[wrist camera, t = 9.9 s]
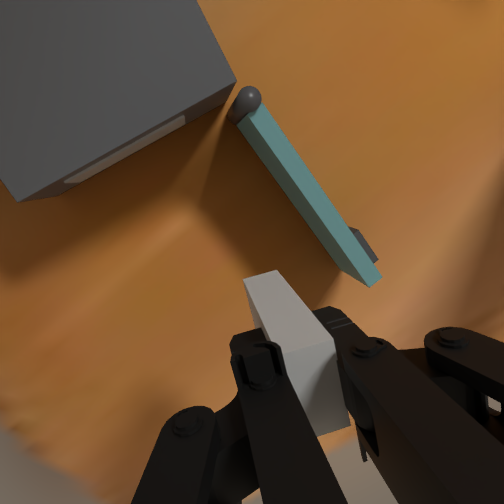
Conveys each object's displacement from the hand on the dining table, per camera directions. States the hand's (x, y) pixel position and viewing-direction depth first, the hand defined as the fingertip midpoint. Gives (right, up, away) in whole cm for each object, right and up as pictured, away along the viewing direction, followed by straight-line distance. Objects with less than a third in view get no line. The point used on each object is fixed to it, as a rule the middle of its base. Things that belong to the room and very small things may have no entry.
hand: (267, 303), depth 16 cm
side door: (+2, +7, +9) cm, 12 cm away
